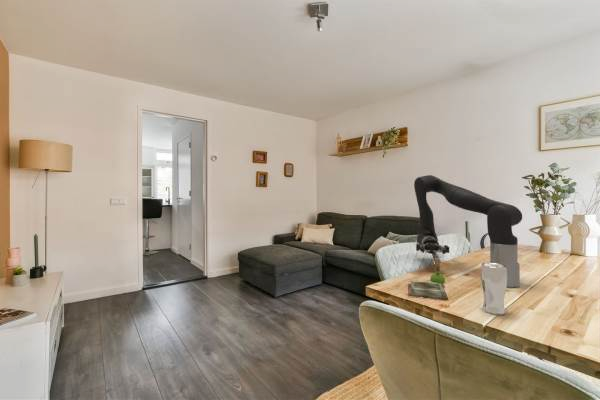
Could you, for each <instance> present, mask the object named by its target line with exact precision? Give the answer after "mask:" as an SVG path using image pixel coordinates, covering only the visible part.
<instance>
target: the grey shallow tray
mask: <svg viewBox="0 0 600 400" xmlns="http://www.w3.org/2000/svg"><path fill="white" fill-rule="evenodd" d="M407 288H408V297H409V296H415V297H414V298H418V297H423V298H422V299H427V298H430V299H429V300H437V299H439V301H446V300H448V301H449V297H448V295H447V293H446V290H445V288H444V287H443V285H441V283H432V282H431V281H422V280H421V281H419V280H410V283H408V284H407Z"/></svg>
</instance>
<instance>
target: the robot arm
mask: <svg viewBox="0 0 600 400" xmlns="http://www.w3.org/2000/svg"><path fill="white" fill-rule="evenodd" d="M413 183H414V184H413V186H414V187H413V188H414V192H415V197H416V201H417V207H418V212H419V227H420V229H421V230H425V231H428V232H420V233H418V235H417V237H416V240H417V243H416V244H415V245H416V246H415V250H416V252H421V253H422V254H423V253H427V254H433V255H434V254H436V253H438V254H439V253H442V255H445V254H450V246H449V245H447V244H445V245H443V246H442V245H441V244H440V243H439V239H438V235H437V233H436V231H435V230H436V229H435V226H434V221H435V220H434V212H433V211H432V208H431V206H430V205H429V203H428V199H427V193H430V192H432V193H436V194H439V195H441V196H443V198H445V199H444V200H446V201H447V202H448V203H449V204H450V205H453V206H454V207H457V208H458V209H461V210H465V211H470V212H474V213H479V214H483V215H485V216H486V221H487V222H486V224H487V235H488V237H489V243H490V244H489V263H497V264H502V265H505V266H506V270H507V287H506V288H520V286H521V285H520V284H521V283H520V279H521V278H520V273H521V272H520V268H521V267H520V265H521V264H520V263H518V262H519V261H518V259H519V258H518V251H519V250H518V247H519V245H518V237H517V236H515V235H514V233H513V226H517V225H518V224H520V223H521V221H522V220H523V213H522V211H521V210H520V209H519V208H518V207H517V206H515V205H512V204H509V203H504V202H501V201H496V200H494V199H490V198H488V197H487V196H483V195H481V194H480V193H476V192H474V191H472V190H469V189H467V188H464V187H461V186H458V185H455V184H452V183H449V182H447V181H444V180H443V179H440V178H439V177H437V176H436V175H435V176H434V175H431V174H429V175H424V176H422V175H421V176H419V177H416V178H415V180H414V182H413Z"/></svg>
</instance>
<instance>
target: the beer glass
mask: <svg viewBox="0 0 600 400" xmlns="http://www.w3.org/2000/svg"><path fill="white" fill-rule="evenodd" d="M480 282H481V288H482V294H483V303H482V311H484V312H486V313H488V314H491V315H497V316H503V315H506V307H505V297H506V292H507V288H508V287H507V270H506V266H505V265H502V264H497V263H490V262H482V263H481V269H480Z"/></svg>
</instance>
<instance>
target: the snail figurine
mask: <svg viewBox="0 0 600 400" xmlns="http://www.w3.org/2000/svg"><path fill="white" fill-rule="evenodd" d="M434 257H435V258H434V267H435V269H434V270H435V272H433V273H432V274H431V275H430V278H429V279H430V282H432V283H441V285H442V286H443V285H444V284H445V283H446V278H445V276H444V275H443V274H442V273H441V272H440V271H441V269H440V261H439V259H438V257H439V255H437V254H436V255H434Z"/></svg>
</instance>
